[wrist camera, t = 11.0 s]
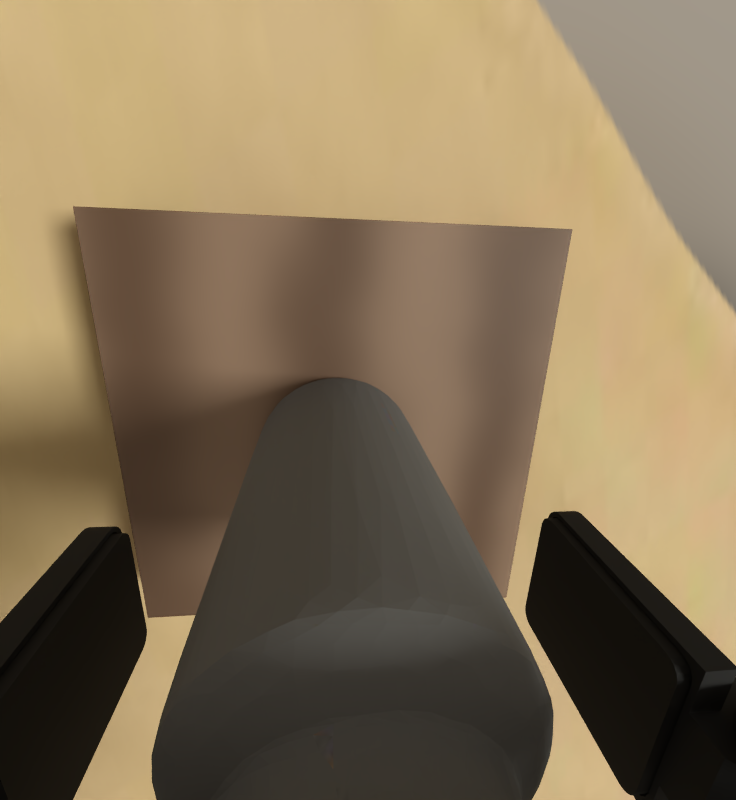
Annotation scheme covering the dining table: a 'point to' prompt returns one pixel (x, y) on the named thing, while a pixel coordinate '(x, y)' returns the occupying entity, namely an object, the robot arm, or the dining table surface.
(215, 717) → the bottle
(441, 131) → the dining table surface
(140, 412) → the base
